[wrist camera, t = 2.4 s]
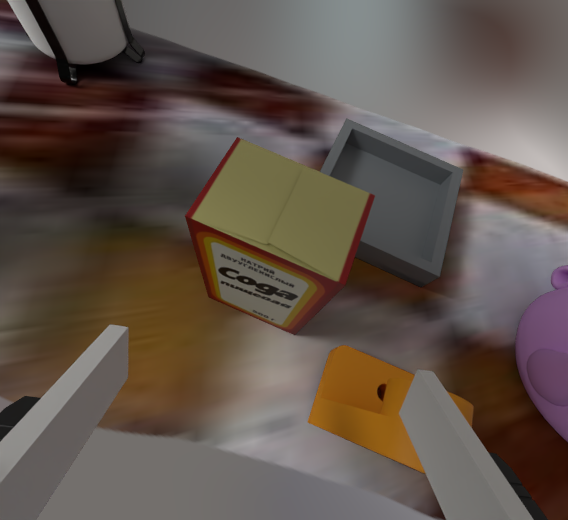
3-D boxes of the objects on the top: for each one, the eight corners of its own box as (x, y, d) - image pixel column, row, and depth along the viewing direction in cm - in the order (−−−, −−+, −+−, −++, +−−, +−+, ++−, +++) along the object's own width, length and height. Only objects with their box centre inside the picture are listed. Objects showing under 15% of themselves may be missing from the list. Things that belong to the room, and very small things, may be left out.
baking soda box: (208, 297, 31) (183, 212, 16) (236, 245, 34) (237, 132, 19) (294, 335, 31) (347, 283, 16) (316, 279, 33) (377, 191, 19)
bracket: (429, 388, 30) (536, 386, 20) (415, 470, 27) (534, 521, 16) (329, 345, 31) (381, 320, 20) (305, 421, 28) (350, 440, 17)
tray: (293, 228, 35) (299, 212, 32) (338, 139, 42) (346, 118, 39) (421, 287, 35) (439, 276, 32) (445, 186, 41) (463, 169, 38)
